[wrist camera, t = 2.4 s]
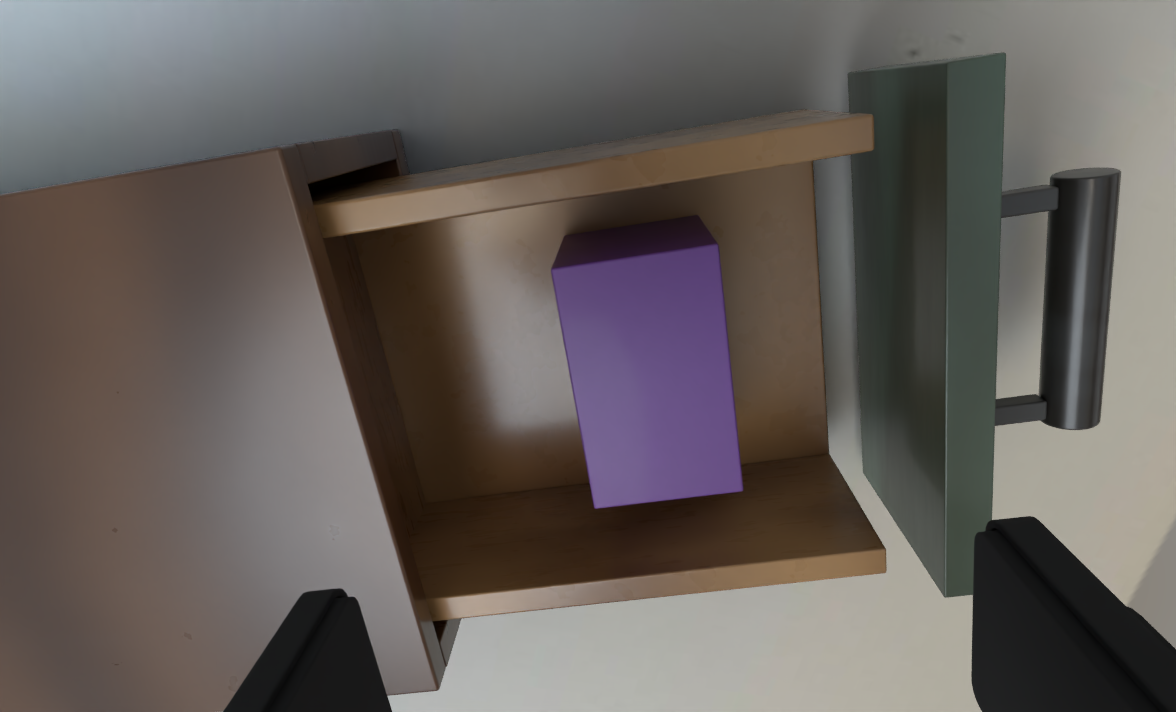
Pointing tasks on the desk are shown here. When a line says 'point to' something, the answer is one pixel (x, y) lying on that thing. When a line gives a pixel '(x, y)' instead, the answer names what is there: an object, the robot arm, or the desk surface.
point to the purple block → (649, 361)
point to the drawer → (755, 333)
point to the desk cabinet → (189, 436)
